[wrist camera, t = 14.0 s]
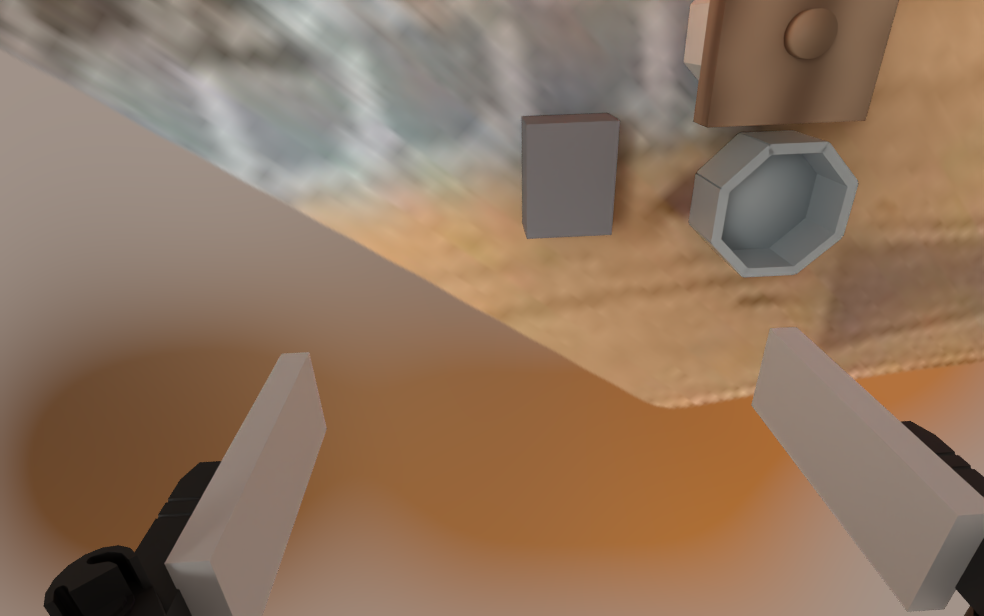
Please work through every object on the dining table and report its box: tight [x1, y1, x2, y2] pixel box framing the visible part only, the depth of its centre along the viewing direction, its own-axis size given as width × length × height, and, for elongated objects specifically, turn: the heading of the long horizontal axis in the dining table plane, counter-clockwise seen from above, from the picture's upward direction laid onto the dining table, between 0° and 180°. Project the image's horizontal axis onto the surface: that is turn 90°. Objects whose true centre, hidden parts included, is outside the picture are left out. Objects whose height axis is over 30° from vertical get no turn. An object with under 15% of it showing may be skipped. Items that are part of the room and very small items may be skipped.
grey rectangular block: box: [522, 113, 620, 239], centre depth 44 cm, size 7×9×4 cm
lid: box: [693, 0, 899, 127], centre depth 35 cm, size 11×11×4 cm
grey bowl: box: [689, 130, 859, 277], centre depth 45 cm, size 11×11×5 cm
